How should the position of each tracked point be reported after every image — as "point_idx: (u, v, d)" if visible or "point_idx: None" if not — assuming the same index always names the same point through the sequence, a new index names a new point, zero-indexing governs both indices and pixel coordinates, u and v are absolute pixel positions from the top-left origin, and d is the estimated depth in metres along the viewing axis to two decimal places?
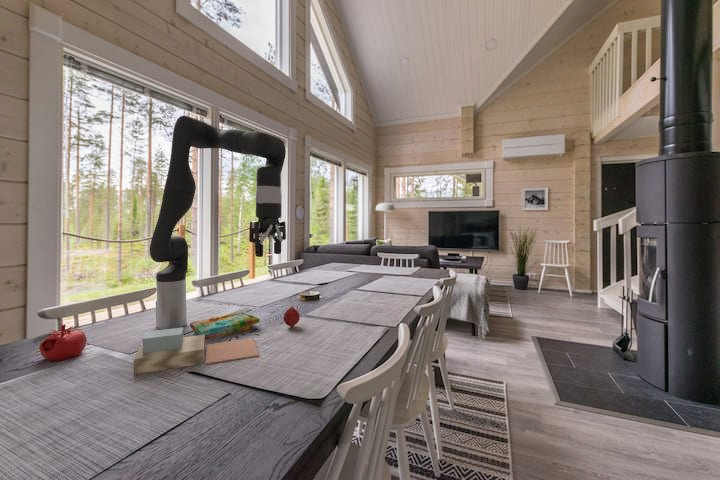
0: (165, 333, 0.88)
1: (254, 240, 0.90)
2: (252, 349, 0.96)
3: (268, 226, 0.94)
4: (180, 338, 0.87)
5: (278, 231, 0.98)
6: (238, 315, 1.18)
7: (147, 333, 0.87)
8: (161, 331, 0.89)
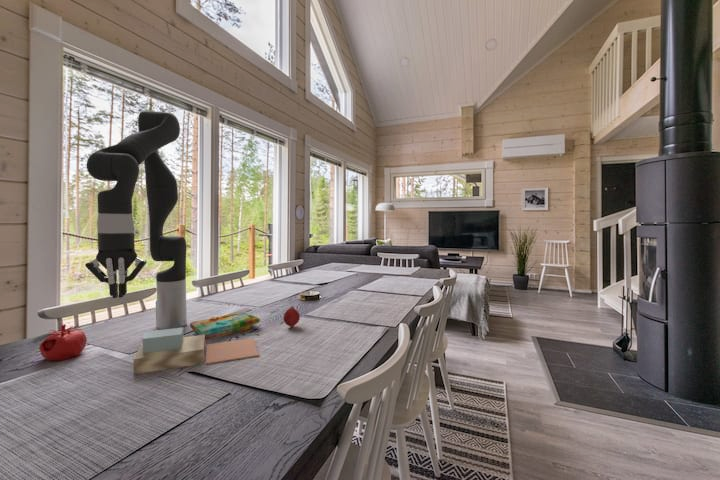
0: (165, 333, 0.88)
1: (133, 278, 0.85)
2: (252, 349, 0.96)
3: None
4: (180, 338, 0.87)
5: None
6: (238, 315, 1.18)
7: (147, 333, 0.87)
8: (161, 331, 0.89)
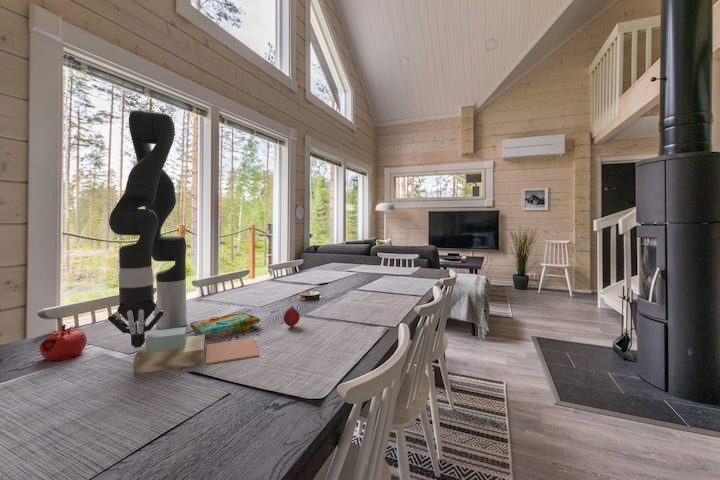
0: (168, 332, 0.88)
1: None
2: (252, 349, 0.96)
3: None
4: (183, 338, 0.87)
5: None
6: (238, 315, 1.18)
7: (150, 333, 0.87)
8: (164, 331, 0.89)
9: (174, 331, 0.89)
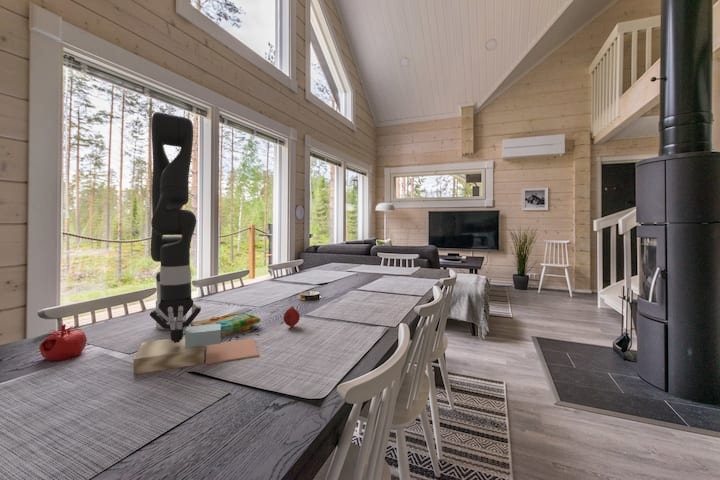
0: (205, 328, 0.91)
1: None
2: (252, 349, 0.96)
3: None
4: (219, 333, 0.91)
5: None
6: (238, 315, 1.18)
7: (188, 328, 0.91)
8: (200, 327, 0.93)
9: (210, 327, 0.93)
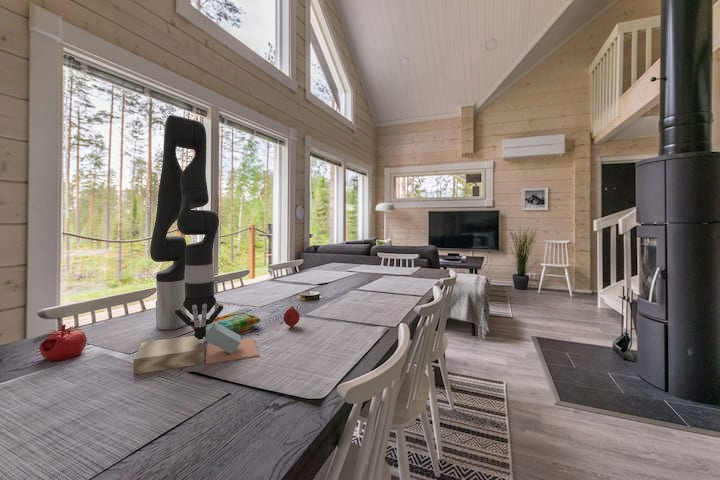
0: (228, 333, 0.94)
1: None
2: (252, 349, 0.96)
3: None
4: (237, 345, 0.92)
5: None
6: (239, 315, 1.19)
7: (215, 324, 0.94)
8: (225, 329, 0.95)
9: (232, 334, 0.95)
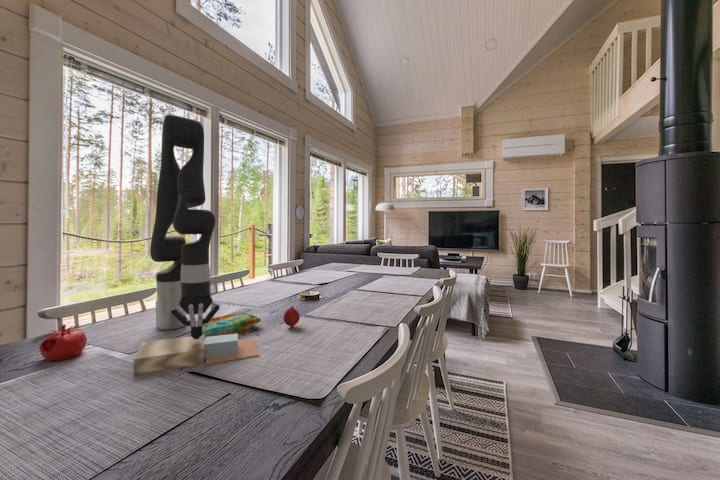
0: (223, 339, 0.93)
1: None
2: (252, 349, 0.96)
3: None
4: (237, 344, 0.92)
5: None
6: (239, 315, 1.19)
7: (206, 339, 0.93)
8: (218, 337, 0.95)
9: (228, 337, 0.94)
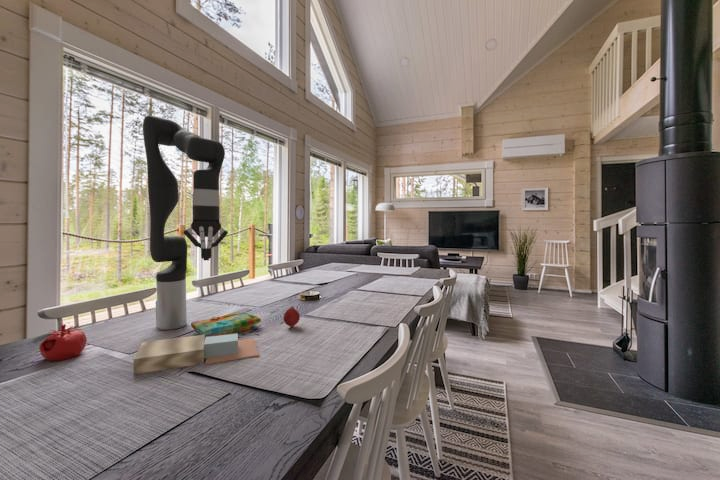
0: (223, 339, 0.93)
1: None
2: (252, 349, 0.96)
3: None
4: (237, 344, 0.92)
5: None
6: (239, 315, 1.19)
7: (206, 339, 0.93)
8: (218, 337, 0.95)
9: (228, 337, 0.94)
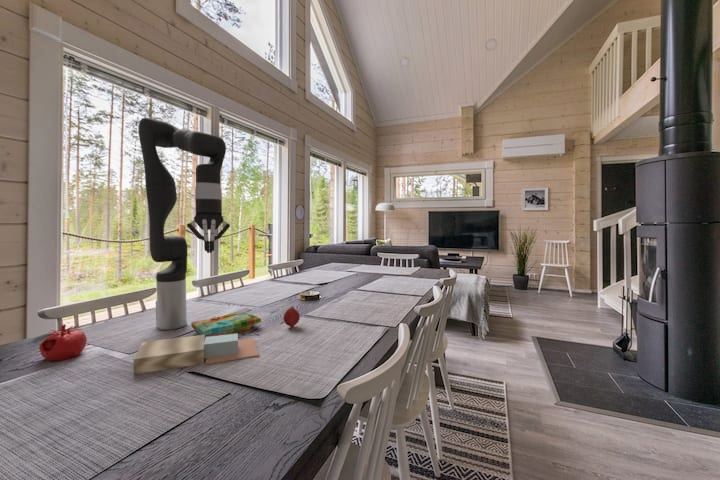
0: (223, 339, 0.93)
1: None
2: (252, 349, 0.96)
3: None
4: (237, 344, 0.92)
5: None
6: (239, 315, 1.19)
7: (206, 339, 0.93)
8: (218, 337, 0.95)
9: (228, 337, 0.94)
